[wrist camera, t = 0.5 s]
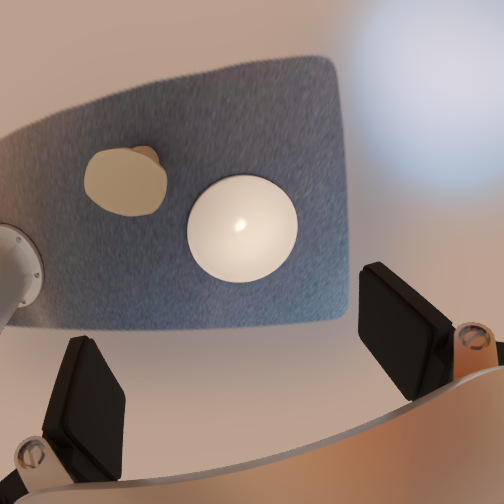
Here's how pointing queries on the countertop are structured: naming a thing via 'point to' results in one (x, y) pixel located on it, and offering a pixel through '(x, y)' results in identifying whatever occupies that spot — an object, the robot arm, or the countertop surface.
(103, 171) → the handle
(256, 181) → the plate
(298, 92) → the countertop surface
